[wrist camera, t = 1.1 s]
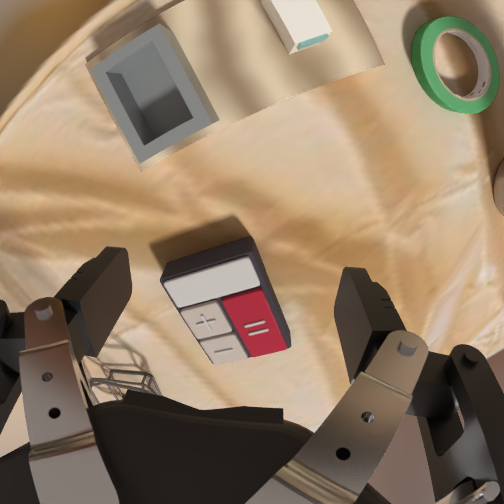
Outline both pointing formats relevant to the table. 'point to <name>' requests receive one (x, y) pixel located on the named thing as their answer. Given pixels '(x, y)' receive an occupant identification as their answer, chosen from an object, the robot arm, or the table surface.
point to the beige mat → (253, 57)
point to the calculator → (228, 302)
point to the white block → (298, 22)
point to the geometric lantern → (110, 378)
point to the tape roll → (430, 77)
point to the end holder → (154, 92)
